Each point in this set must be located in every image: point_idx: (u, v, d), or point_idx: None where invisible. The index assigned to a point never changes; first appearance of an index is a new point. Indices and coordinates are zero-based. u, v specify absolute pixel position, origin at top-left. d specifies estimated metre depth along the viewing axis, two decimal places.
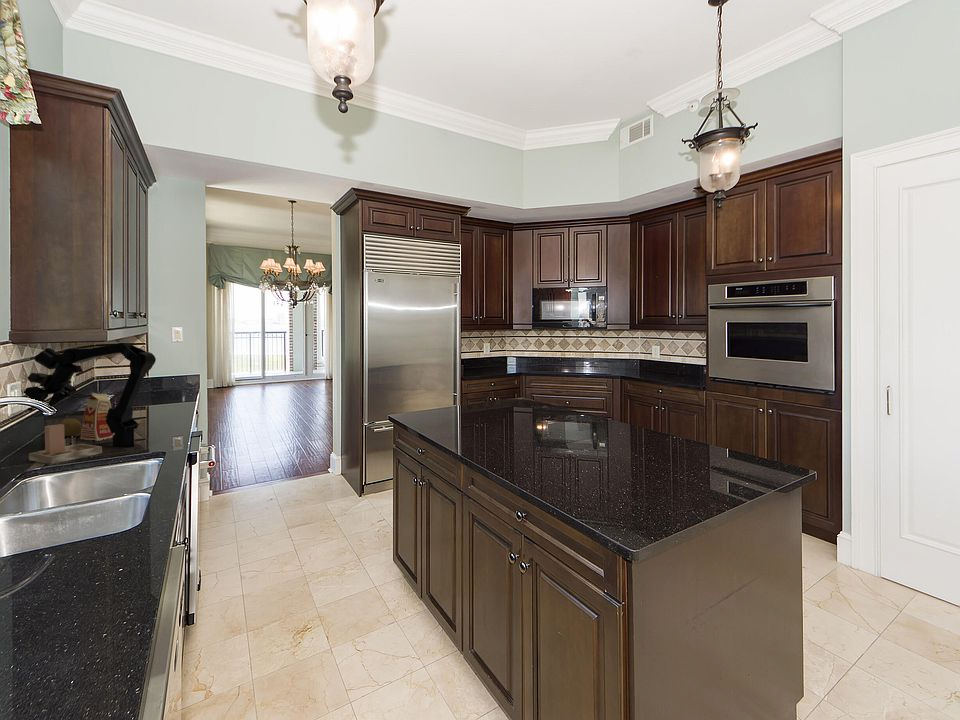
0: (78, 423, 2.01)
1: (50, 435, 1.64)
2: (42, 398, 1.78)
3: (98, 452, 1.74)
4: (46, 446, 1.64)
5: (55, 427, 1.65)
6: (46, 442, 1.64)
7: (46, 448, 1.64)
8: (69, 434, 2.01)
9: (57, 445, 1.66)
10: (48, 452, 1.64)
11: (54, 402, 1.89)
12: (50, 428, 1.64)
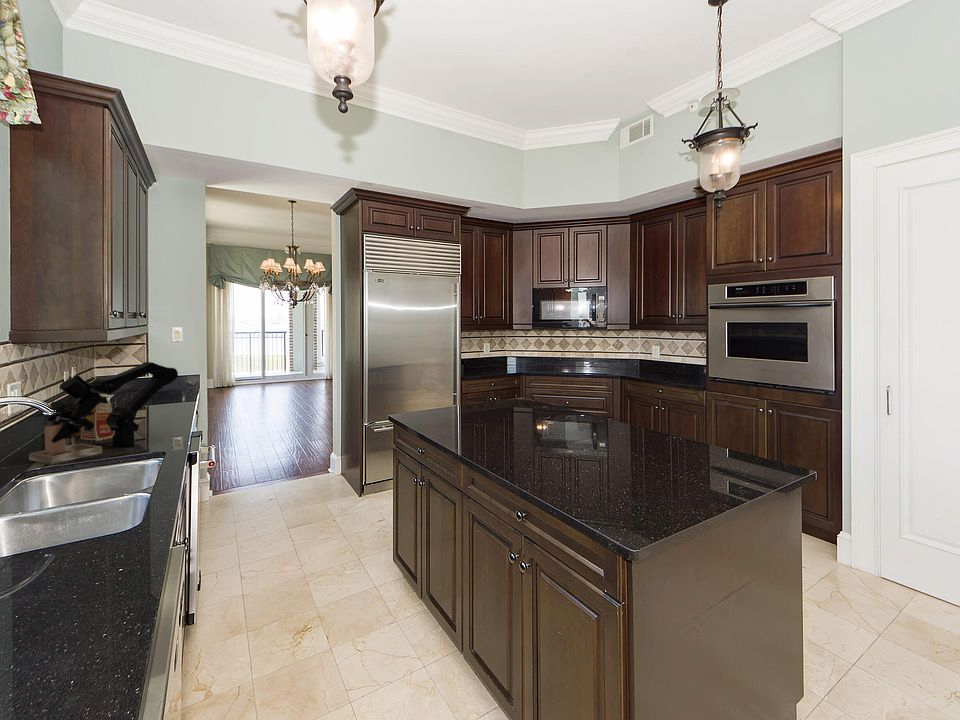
0: None
1: (50, 435, 1.64)
2: None
3: (98, 452, 1.74)
4: (46, 446, 1.64)
5: (55, 427, 1.65)
6: (46, 442, 1.64)
7: (46, 448, 1.64)
8: None
9: (57, 445, 1.66)
10: (48, 452, 1.64)
11: None
12: (50, 428, 1.64)
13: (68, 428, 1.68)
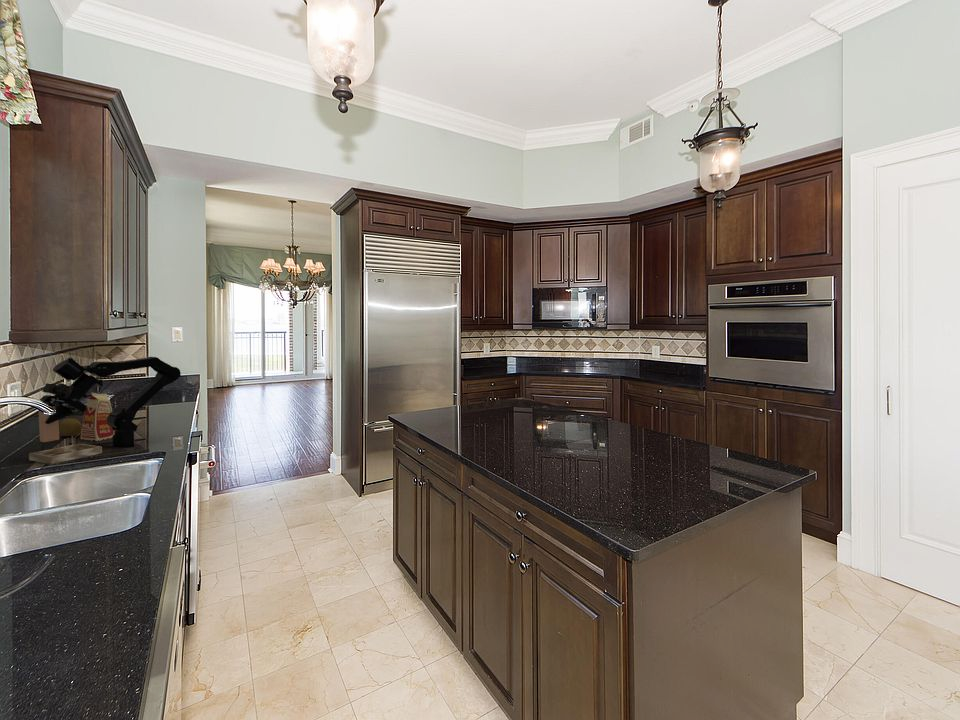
0: (78, 423, 2.01)
1: (43, 417, 1.64)
2: None
3: (98, 452, 1.74)
4: (40, 428, 1.65)
5: None
6: (40, 423, 1.65)
7: (40, 429, 1.65)
8: (69, 434, 2.01)
9: (51, 427, 1.66)
10: (42, 433, 1.65)
11: None
12: None
13: (62, 410, 1.68)
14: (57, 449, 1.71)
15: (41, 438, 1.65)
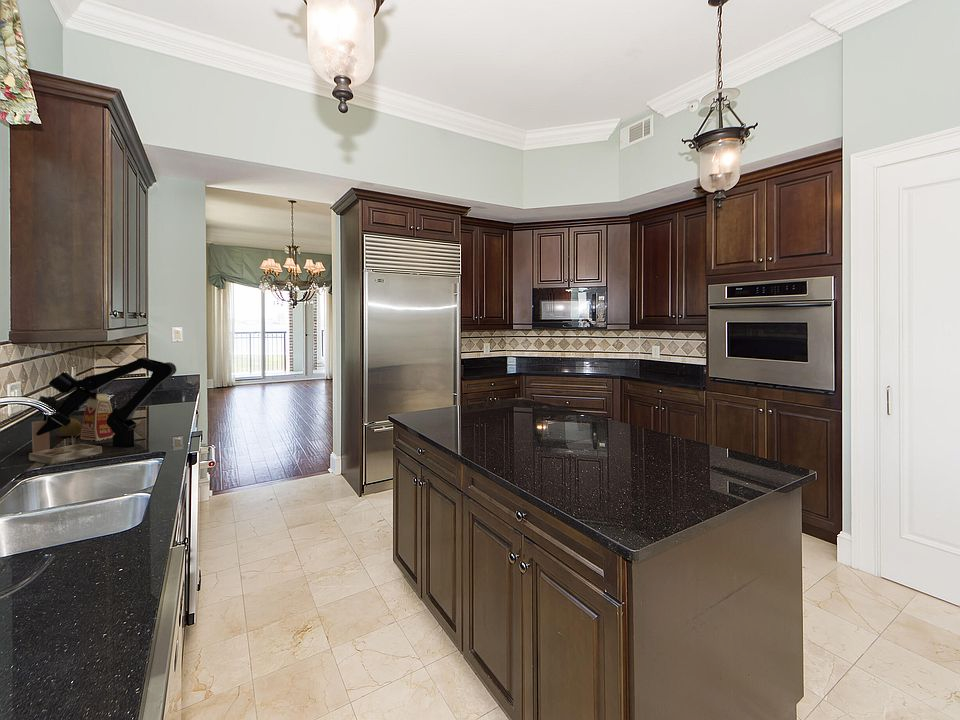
0: (78, 423, 2.01)
1: (33, 430, 1.73)
2: None
3: (98, 452, 1.74)
4: (32, 441, 1.74)
5: (39, 423, 1.74)
6: (32, 437, 1.74)
7: (32, 442, 1.74)
8: (69, 434, 2.01)
9: (41, 441, 1.74)
10: (33, 446, 1.73)
11: None
12: (34, 424, 1.73)
13: (52, 422, 1.74)
14: (57, 449, 1.71)
15: None
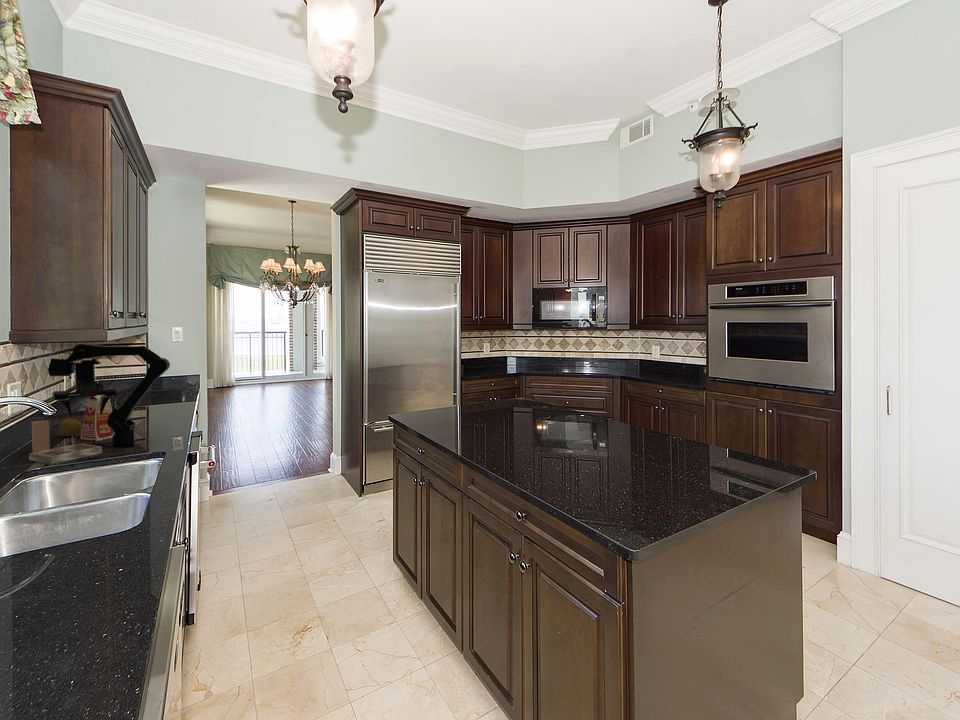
0: (78, 423, 2.01)
1: (33, 430, 1.73)
2: None
3: (98, 452, 1.74)
4: (32, 441, 1.74)
5: (39, 423, 1.74)
6: (32, 437, 1.74)
7: (32, 442, 1.74)
8: (69, 434, 2.01)
9: (41, 441, 1.74)
10: (33, 446, 1.73)
11: None
12: (33, 424, 1.73)
13: None
14: (57, 449, 1.71)
15: None
